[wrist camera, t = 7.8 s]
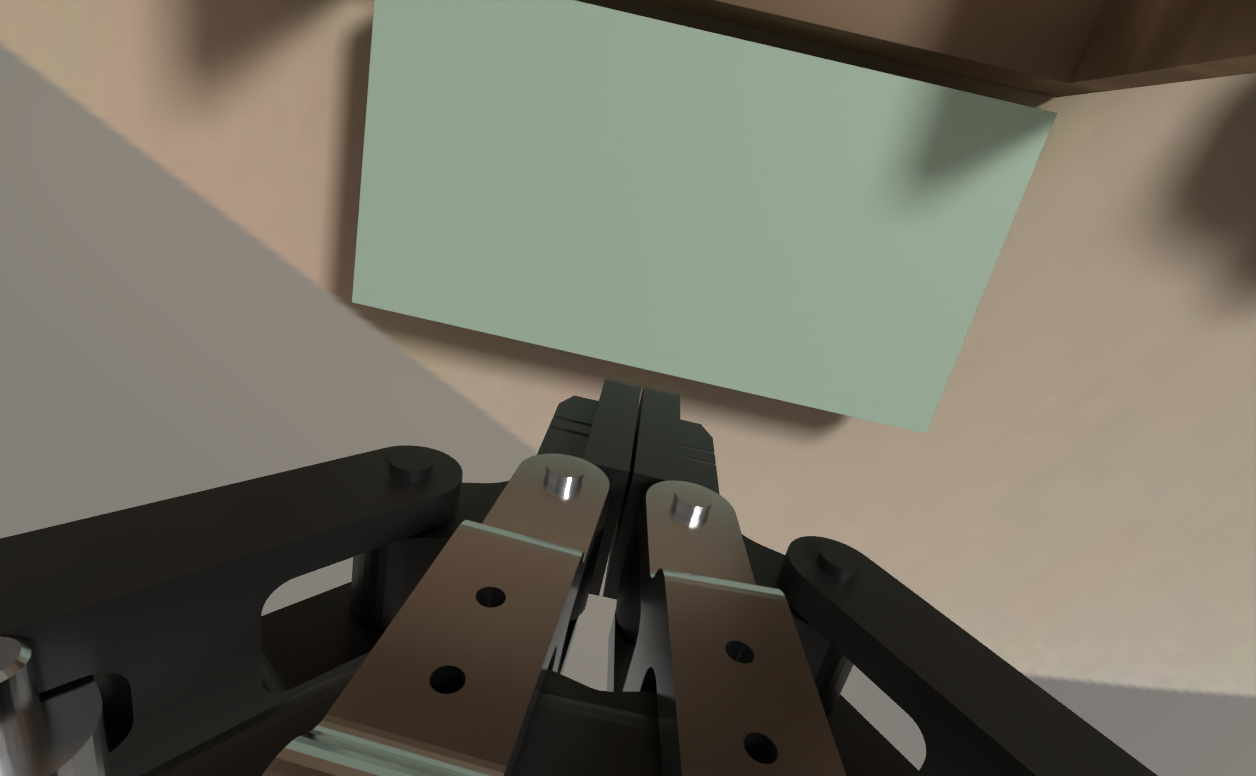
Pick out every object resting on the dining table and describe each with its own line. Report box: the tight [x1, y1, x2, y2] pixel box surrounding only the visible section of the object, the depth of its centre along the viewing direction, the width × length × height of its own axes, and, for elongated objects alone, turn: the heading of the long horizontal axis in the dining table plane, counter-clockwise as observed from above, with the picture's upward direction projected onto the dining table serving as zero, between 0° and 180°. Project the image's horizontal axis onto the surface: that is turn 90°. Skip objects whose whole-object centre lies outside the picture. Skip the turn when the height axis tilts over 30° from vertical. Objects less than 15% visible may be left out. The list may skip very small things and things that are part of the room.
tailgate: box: [352, 0, 1057, 433], centre depth 21 cm, size 2×19×10 cm
